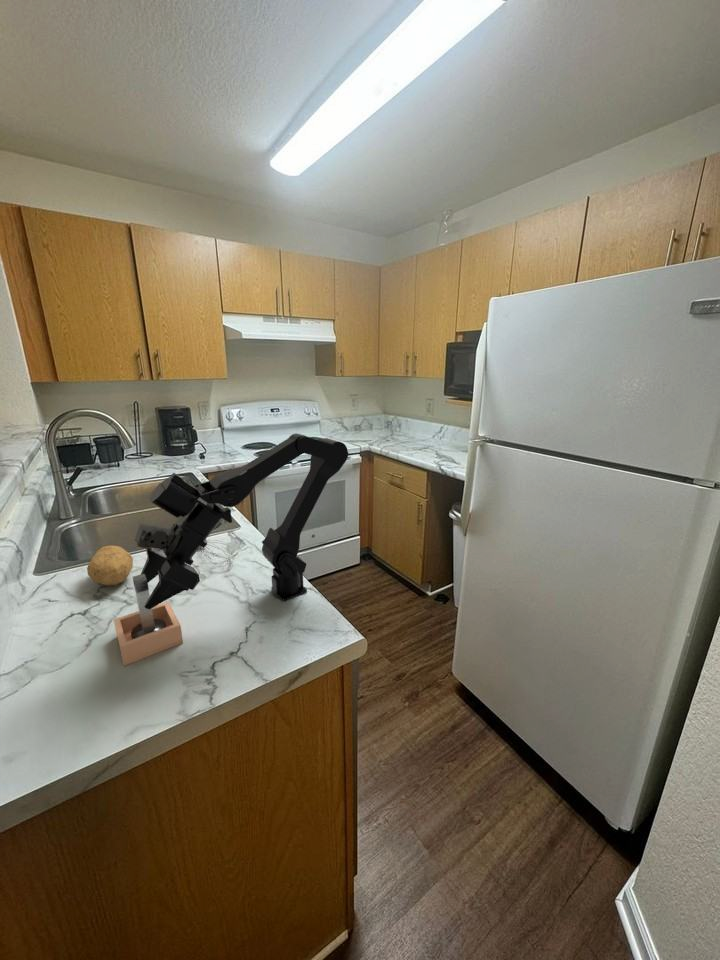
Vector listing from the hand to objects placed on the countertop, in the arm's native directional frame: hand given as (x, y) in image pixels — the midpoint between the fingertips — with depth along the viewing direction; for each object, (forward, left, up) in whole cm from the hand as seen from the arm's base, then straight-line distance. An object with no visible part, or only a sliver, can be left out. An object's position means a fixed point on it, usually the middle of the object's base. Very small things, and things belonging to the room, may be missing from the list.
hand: (142, 596), depth 73 cm
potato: (+3, -30, -10) cm, 32 cm away
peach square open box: (0, 0, -10) cm, 10 cm away
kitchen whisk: (-20, -34, -10) cm, 41 cm away
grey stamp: (0, 0, -9) cm, 9 cm away
